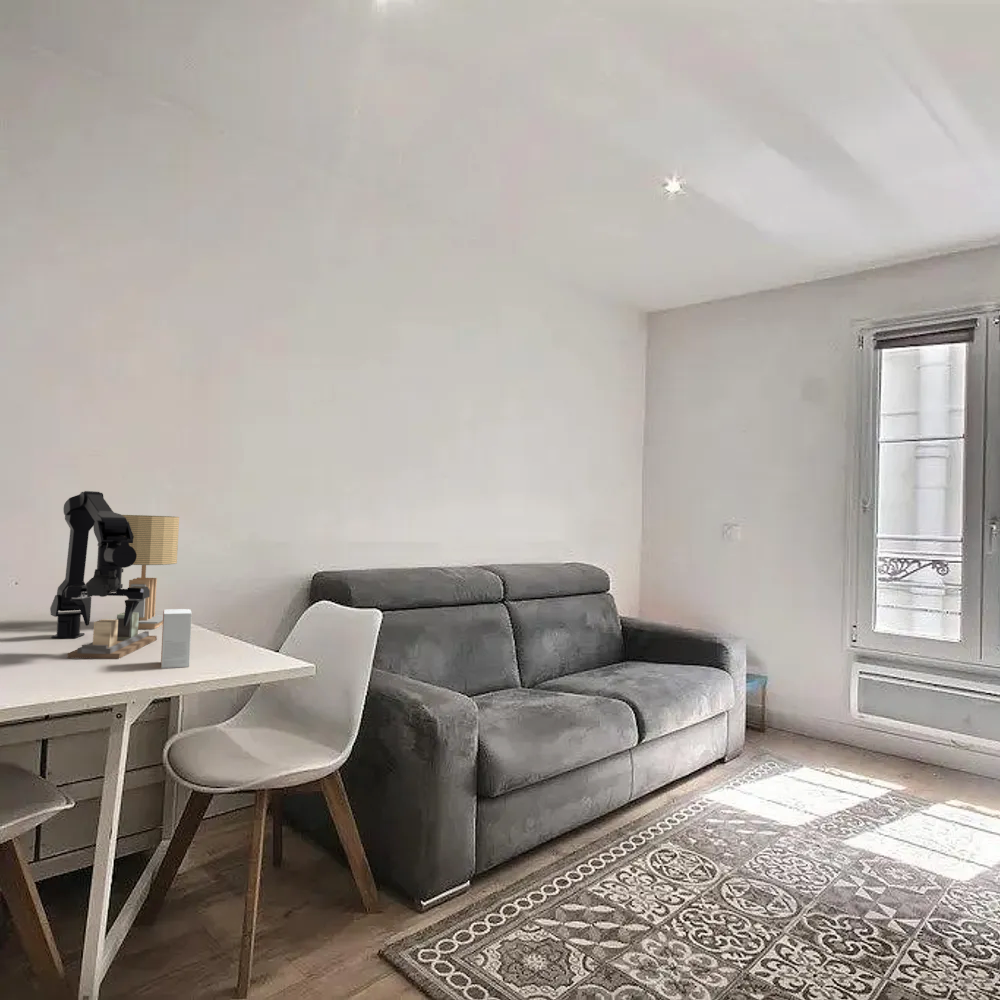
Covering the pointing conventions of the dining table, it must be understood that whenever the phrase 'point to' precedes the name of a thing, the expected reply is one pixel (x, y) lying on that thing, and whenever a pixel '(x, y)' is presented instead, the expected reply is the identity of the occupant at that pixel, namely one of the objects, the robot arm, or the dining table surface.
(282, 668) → the dining table surface
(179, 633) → the small box
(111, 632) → the tan wooden block
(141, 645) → the rail base
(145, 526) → the desk lamp
